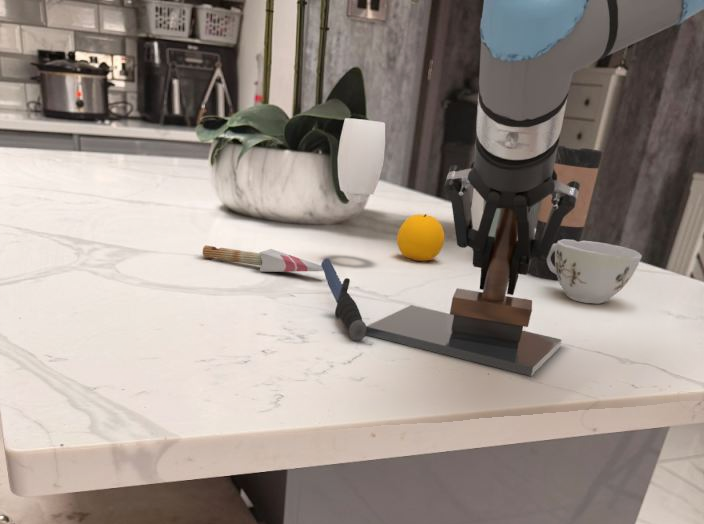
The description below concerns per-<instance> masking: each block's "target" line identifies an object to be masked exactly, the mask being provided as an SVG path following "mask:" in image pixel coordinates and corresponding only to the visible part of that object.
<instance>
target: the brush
mask: <svg viewBox="0 0 704 524" xmlns="http://www.w3.org/2000/svg"><path fill="white" fill-rule="evenodd" d="M517 241H518V230H517V221H516V217H515V211H514V210H511V209H508V208H501V209H500V211H499V216H498V221H497V226H496V231H495V236H494V241H493V246H492V251H491V256H490V260H489V265H488V270H487V275H486V280H485V285H484V290H482V291H477V290H470V289H464V288H456V289H455V292H454V294H453V296H452V298H451V305H450V310H449V314H451V315H454V318H453V323H452V329H451V331H455V332H461V333H467V334H473V335H479V336H485V337H491V338H497V339H503V340H509V341H515V342H520V338H521V334H522V331H524V327H525V328H528V327H529V324H530V320H531V317H532V316H531V315H532V312H533V300H532V299H527V298H521V297H514V296H509V295H507V290H508V283H509V277H510V270H511V263H512V258H513V255H514V251H515V247H516V245H517Z"/></svg>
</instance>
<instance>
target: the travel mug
mask: <svg viewBox="0 0 704 524" xmlns="http://www.w3.org/2000/svg"><path fill="white" fill-rule="evenodd" d="M602 156H603V150H599V149H593V148H592V149H591V148H585V147H584V148H579V149H578V148H571V147H567V146H565V145H558V148H557V153H556V159H555V164H554V169H555V171H556V173H557V180H558V181H560V182H562V183H564V184H566V185H567V184H568V183H569V182H572V181H576V182H578V183H579V184H580V188H579V192H578V196H577V200H576V204H575V207H574V209H572V210H571V211H570V212H569V213H568V214H567V215H566V216H565V217H564V218H563V220H562V223H561V225H560V228H559V230H558V233H557V235H556V238H555V240H554V243H553V244H555V243H557V242H558V241H560V240H562V239H566V240H574V241H577V242H580V241H581V239H582V235H583V232H584V227H585V224H586V220H587V216H588V212H589V209H590V204H591V201H592V196H593V193H594V189H595V188H594V187H595V185H596V180H597V176H598V173H599V168H600V164H601V160H602ZM551 200H552V195H551V194H550V195H548V196H547V197H545V198H544V199H542V200H541V205H540V209H539V213H538V216H537V222H536V227H535V239H541V236H542V233H543V231H544V228H545V225H546V223H547V220H548V217H549V215H550V212H551V210H552V207H553V204H552V202H551ZM551 262H552V264H553V265H554V267H555V251H554V252H553V253H552V255H551ZM527 274H529V275H532V276H533V277H538V278H542V279H547V280H556V281H559V280H558V277H557V275H556V274H555V273H553V272H552V271H551V270H550V269H549V267H548V264H547V259H546V260H539V259H537V257H533V258H531V263H530V266H529V270H528V273H527Z"/></svg>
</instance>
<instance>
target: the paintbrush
mask: <svg viewBox="0 0 704 524" xmlns="http://www.w3.org/2000/svg"><path fill="white" fill-rule="evenodd" d="M202 255H203V257H204V258H205V259H217V260H219V261H225V262H233V263H239V264H247V265H253V266H259V267H260V269H259V271H258V272H260V273H262V272H264V273H265V272H324V271H323V268H322V266H321V264H318V263H315V262H312V261H309V260H306V259H302V258H299V257H296V256H294V255H291V254H289V253H288V254H287V253H285V252H281V251H278V250H275V249H272V248H270V249H266V250H264V251H260V252H253V251H246V250H241V249H240V250H239V249H232V248H226V247H219V248H217V247H216V246H212V245H204V246H203V248H202Z"/></svg>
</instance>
